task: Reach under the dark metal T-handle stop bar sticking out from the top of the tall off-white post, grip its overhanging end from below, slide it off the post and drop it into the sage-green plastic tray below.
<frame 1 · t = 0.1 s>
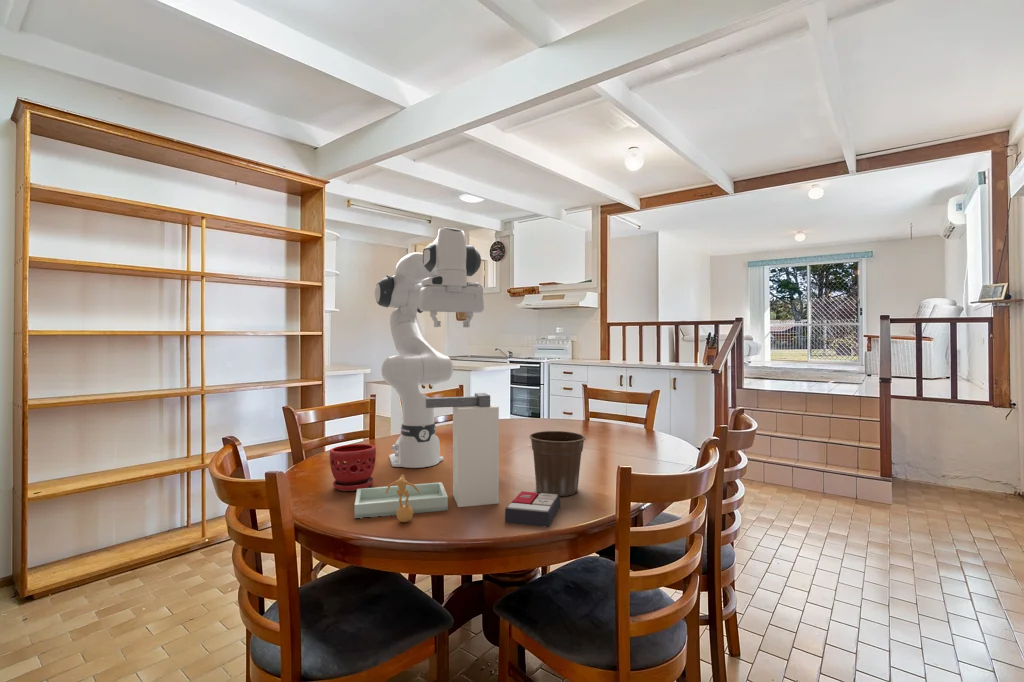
hand: (452, 327, 144), 48 cm above the table, tool pointing down, fingers open, 8 cm apart
figurine: (403, 524, 115), on the table
tray: (401, 505, 127), on the table
plant pot 2: (353, 487, 144), on the table
dark grey box: (533, 516, 122), on the table
post: (475, 499, 132), on the table
plant pot: (557, 491, 140), on the table
stop bar: (457, 406, 131), point 26 cm above the table, touching post
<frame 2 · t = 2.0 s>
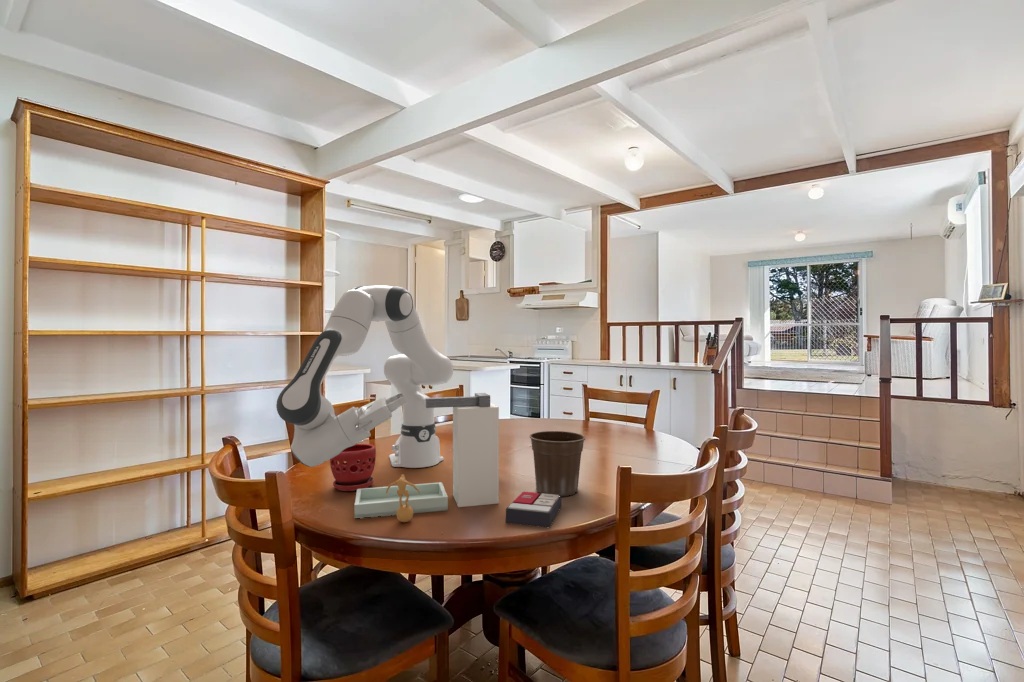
hand: (404, 396, 127), 29 cm above the table, tool pointing upward, fingers open, 8 cm apart
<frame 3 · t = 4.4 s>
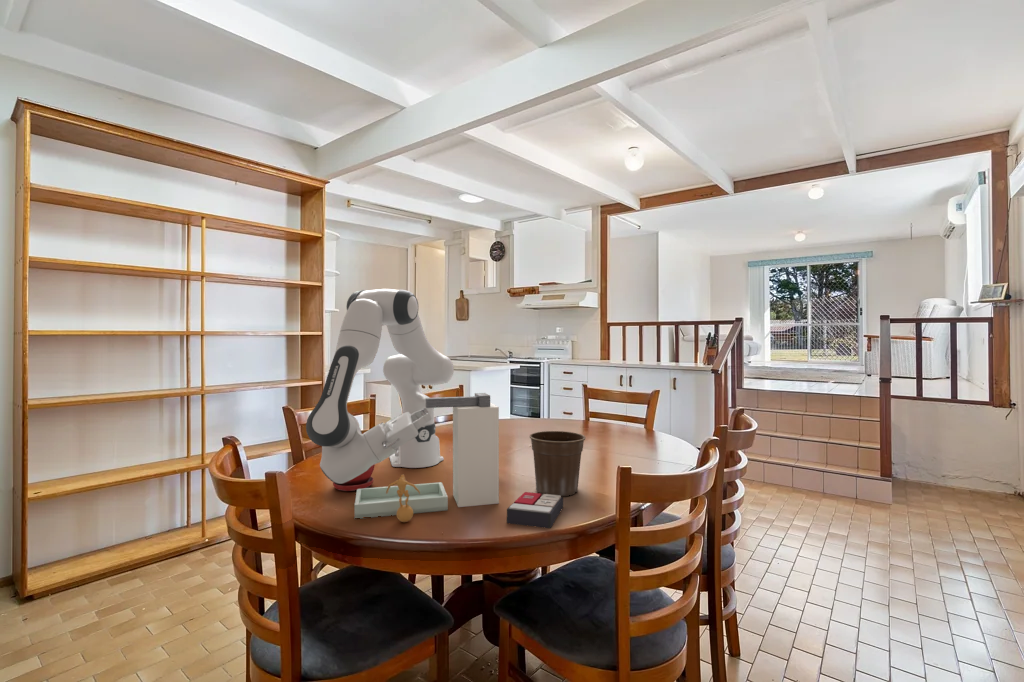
hand: (428, 412, 129), 25 cm above the table, tool pointing upward, fingers open, 8 cm apart
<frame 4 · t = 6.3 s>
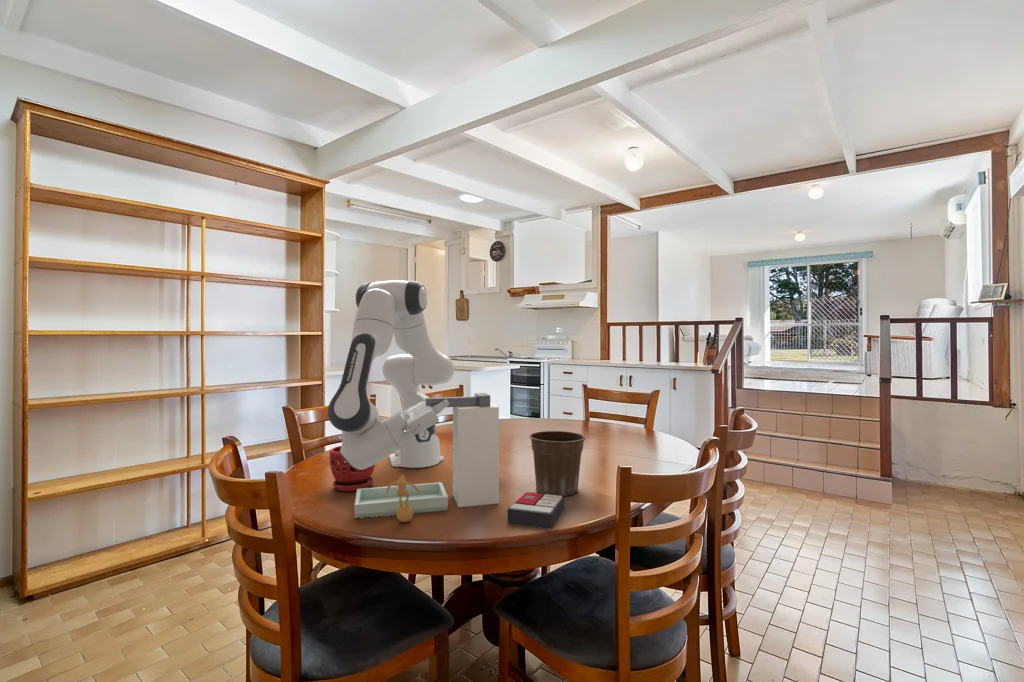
hand: (447, 400, 130), 28 cm above the table, tool pointing upward, fingers closed on stop bar, 2 cm apart
stop bar: (457, 406, 131), point 26 cm above the table, touching gripper, post
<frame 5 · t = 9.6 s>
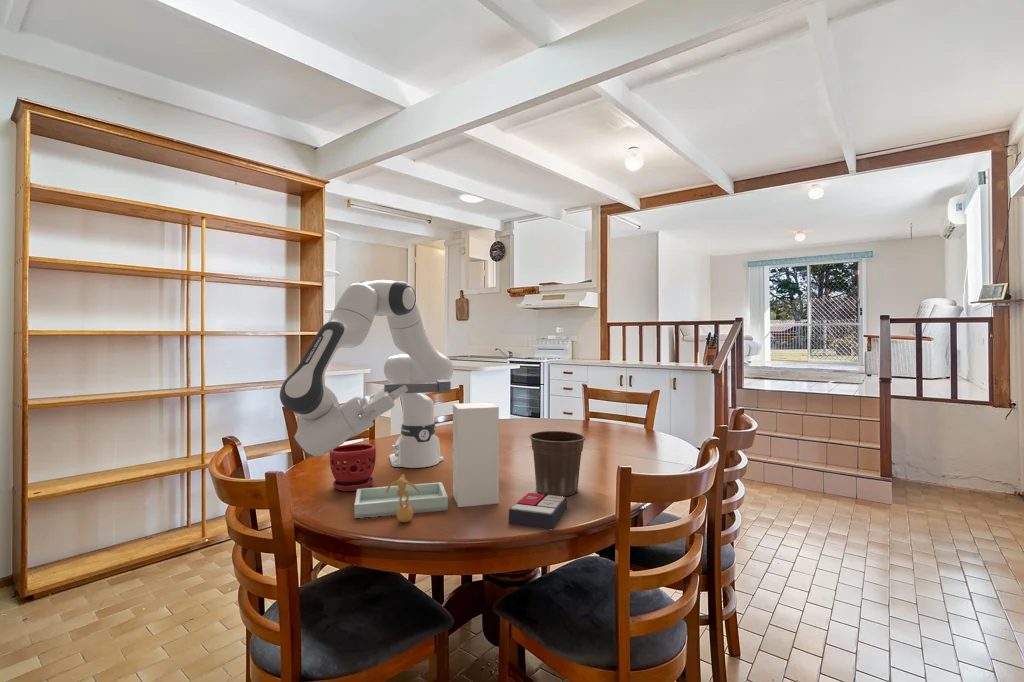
hand: (406, 386, 127), 32 cm above the table, tool pointing upward, fingers closed on stop bar, 2 cm apart
stop bar: (417, 392, 128), point 30 cm above the table, touching gripper
when the fingers open (19 cm above the table, at t = 12.8 s): stop bar drops 17 cm, resting on tray.
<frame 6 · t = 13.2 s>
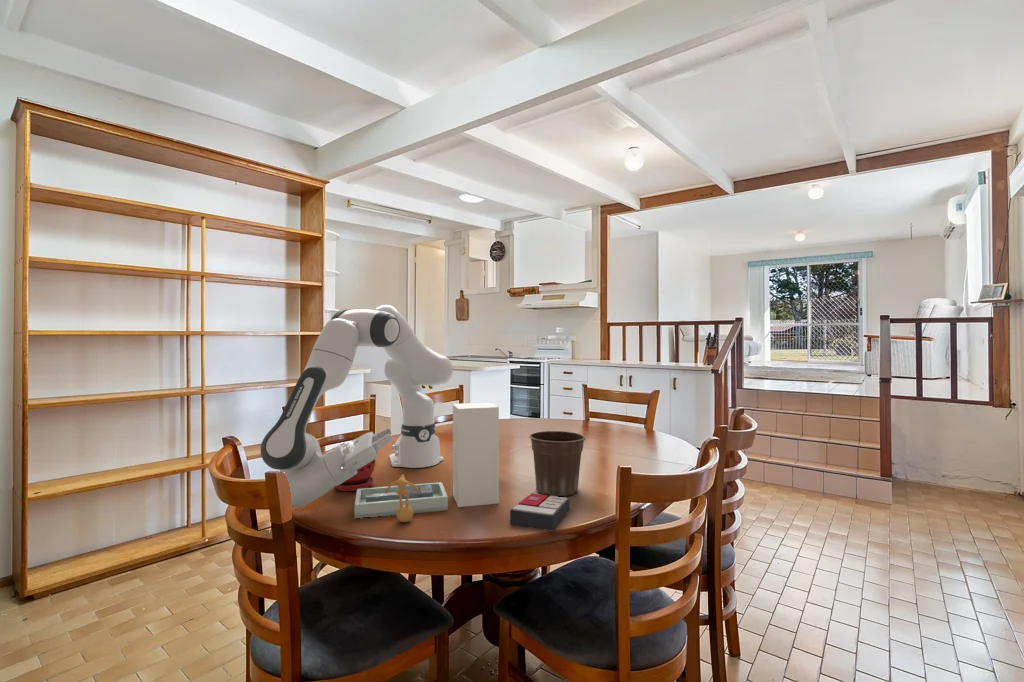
hand: (390, 433, 126), 19 cm above the table, tool pointing upward, fingers open, 7 cm apart
stop bar: (399, 502, 127), point 1 cm above the table, touching tray
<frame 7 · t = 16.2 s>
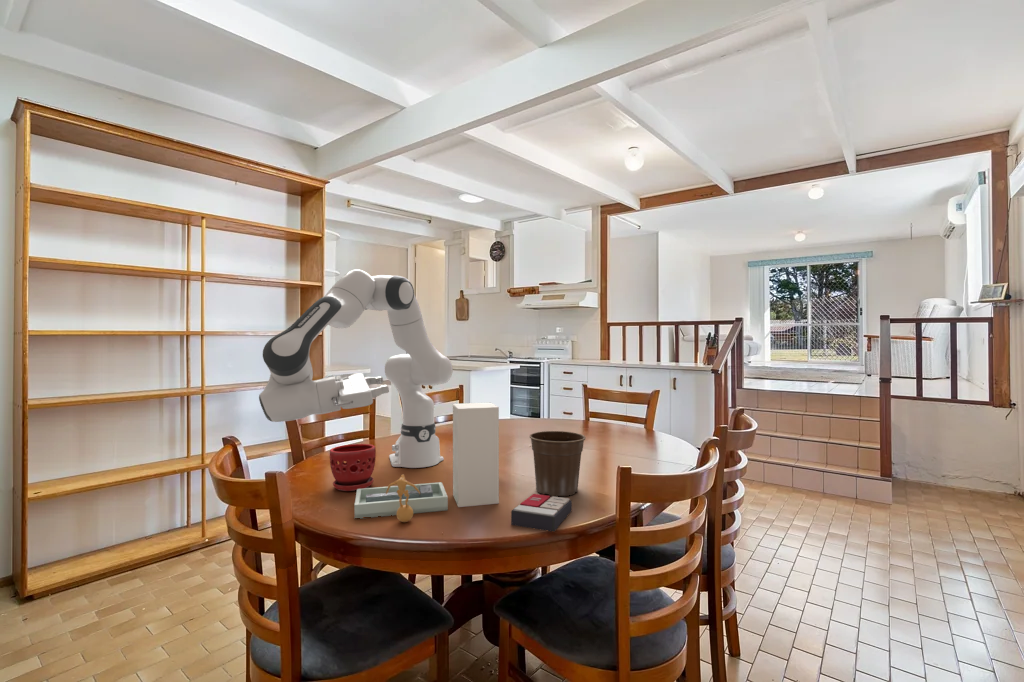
hand: (385, 383, 128), 32 cm above the table, tool horizontal, fingers open, 8 cm apart
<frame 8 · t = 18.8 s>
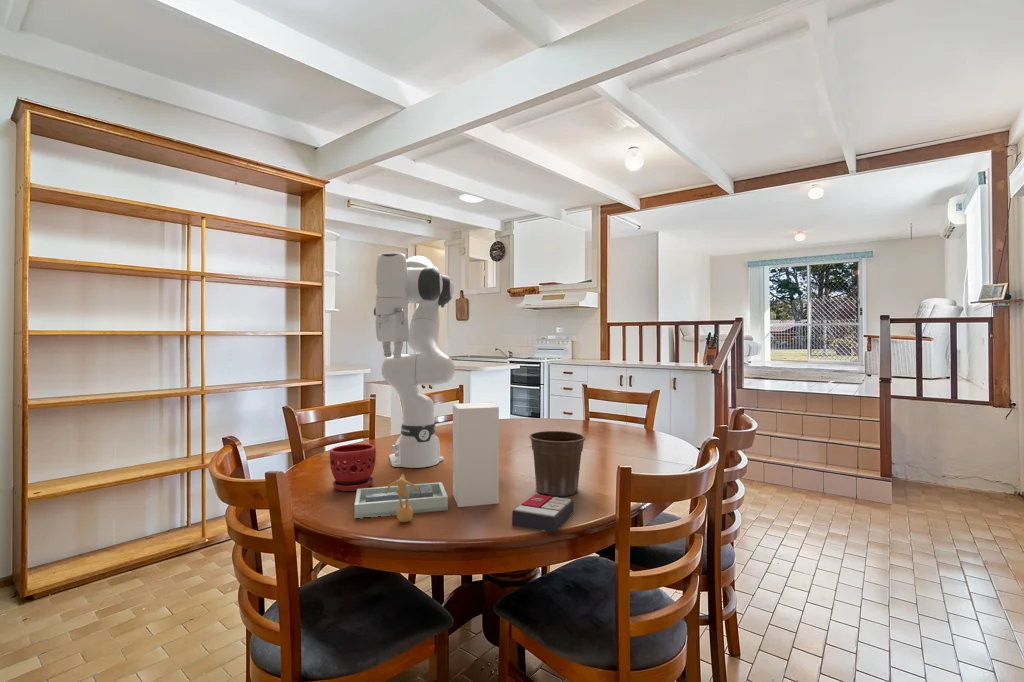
hand: (392, 357, 136), 39 cm above the table, tool pointing down, fingers open, 8 cm apart
at the end: stop bar inside the target area on the tray (0.5 cm from its centre), point 1.0 cm above the tray's base; stop bar touching tray; the gripper is holding nothing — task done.
